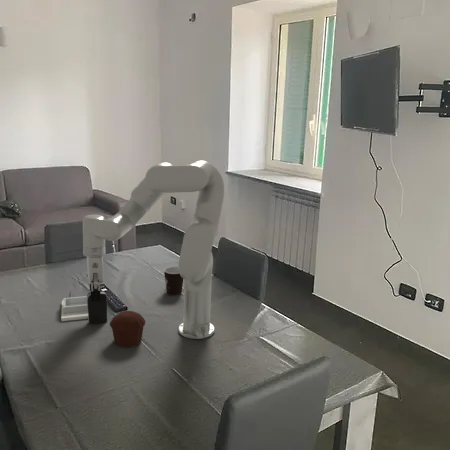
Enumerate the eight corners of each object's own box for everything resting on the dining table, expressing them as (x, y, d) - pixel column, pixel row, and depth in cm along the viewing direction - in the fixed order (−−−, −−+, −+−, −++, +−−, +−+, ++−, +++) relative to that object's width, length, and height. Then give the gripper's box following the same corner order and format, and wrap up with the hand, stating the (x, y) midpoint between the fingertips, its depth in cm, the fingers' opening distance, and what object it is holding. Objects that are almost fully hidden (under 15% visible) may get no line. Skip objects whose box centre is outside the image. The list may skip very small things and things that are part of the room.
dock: (98, 317, 170) (98, 308, 169) (61, 321, 166) (60, 312, 165) (95, 290, 194) (94, 282, 193) (62, 293, 190) (62, 284, 189)
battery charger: (106, 317, 170) (105, 289, 167) (108, 322, 167) (107, 292, 164) (87, 320, 168) (85, 291, 165) (88, 325, 164) (87, 295, 161)
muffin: (110, 351, 148) (109, 322, 145) (109, 334, 158) (108, 307, 155) (147, 347, 151) (147, 319, 148) (144, 331, 161) (144, 305, 159)
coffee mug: (183, 296, 191) (183, 274, 188) (162, 295, 191) (162, 273, 188) (186, 286, 202) (186, 264, 200) (166, 285, 202) (166, 263, 200)
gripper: (107, 257, 154) (107, 304, 158) (103, 242, 169) (104, 285, 174) (83, 258, 151) (84, 306, 156) (82, 243, 167) (83, 286, 171)
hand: (94, 295), depth 165 cm, fingers open, 9 cm apart
